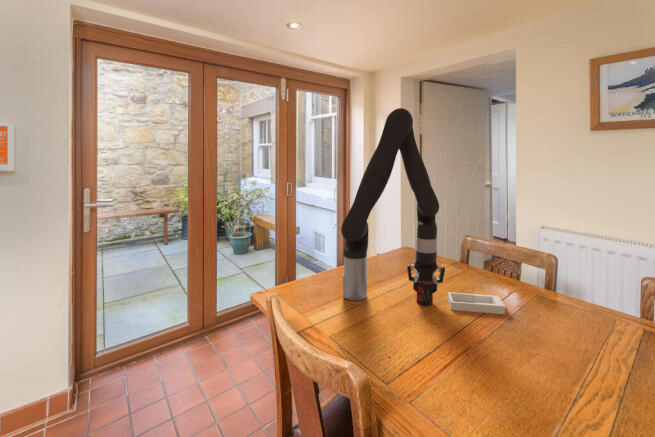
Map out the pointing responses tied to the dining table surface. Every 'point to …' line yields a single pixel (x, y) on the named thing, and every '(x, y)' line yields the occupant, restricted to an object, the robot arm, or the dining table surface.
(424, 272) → the deodorant
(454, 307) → the white rectangular frame
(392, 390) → the dining table surface
